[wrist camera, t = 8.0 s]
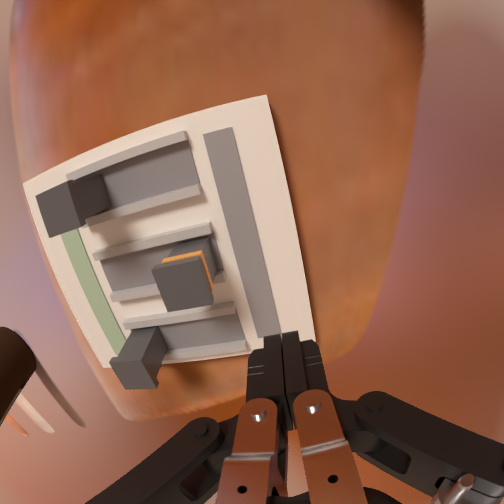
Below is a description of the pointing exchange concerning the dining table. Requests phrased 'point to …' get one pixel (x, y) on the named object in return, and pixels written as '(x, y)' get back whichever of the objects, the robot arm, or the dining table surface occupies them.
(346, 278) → the dining table surface
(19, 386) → the olive oil
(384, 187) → the dining table surface
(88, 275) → the switch board
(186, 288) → the breaker handle
